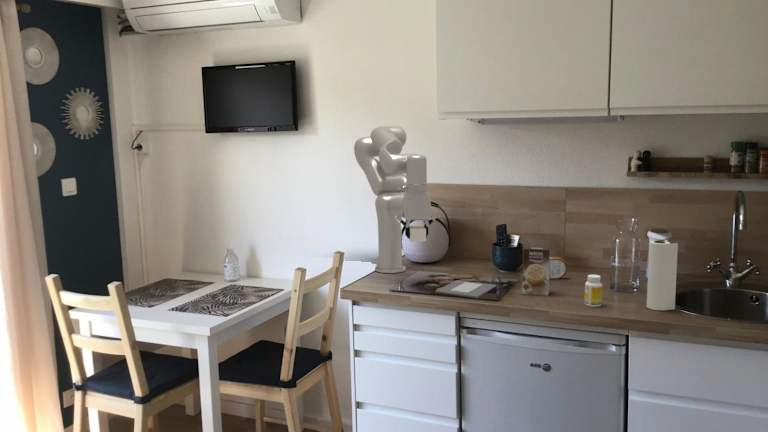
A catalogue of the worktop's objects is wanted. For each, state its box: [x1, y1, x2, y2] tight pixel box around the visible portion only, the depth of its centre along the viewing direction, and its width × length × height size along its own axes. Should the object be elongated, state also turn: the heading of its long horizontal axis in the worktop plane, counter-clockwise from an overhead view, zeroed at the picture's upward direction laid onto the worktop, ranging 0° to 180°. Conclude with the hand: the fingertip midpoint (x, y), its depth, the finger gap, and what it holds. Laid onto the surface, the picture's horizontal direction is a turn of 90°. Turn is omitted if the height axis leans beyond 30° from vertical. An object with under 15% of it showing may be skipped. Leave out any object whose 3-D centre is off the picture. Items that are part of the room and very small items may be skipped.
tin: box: [549, 256, 568, 280], centre depth 245 cm, size 15×3×8 cm, turn 84°
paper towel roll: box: [646, 240, 679, 311], centre depth 203 cm, size 7×6×21 cm
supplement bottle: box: [583, 274, 603, 308], centre depth 209 cm, size 5×5×10 cm
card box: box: [408, 224, 427, 243], centre depth 239 cm, size 9×6×5 cm, turn 5°
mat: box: [434, 279, 498, 299], centre depth 231 cm, size 16×18×1 cm
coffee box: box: [521, 245, 551, 297], centre depth 224 cm, size 9×6×16 cm
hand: (416, 237), depth 239 cm, fingers closed on card box, 5 cm apart
